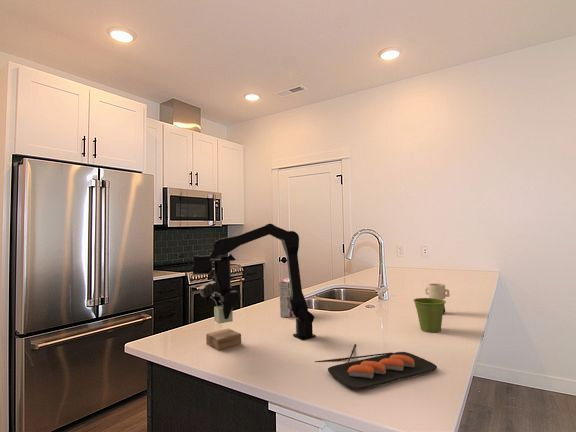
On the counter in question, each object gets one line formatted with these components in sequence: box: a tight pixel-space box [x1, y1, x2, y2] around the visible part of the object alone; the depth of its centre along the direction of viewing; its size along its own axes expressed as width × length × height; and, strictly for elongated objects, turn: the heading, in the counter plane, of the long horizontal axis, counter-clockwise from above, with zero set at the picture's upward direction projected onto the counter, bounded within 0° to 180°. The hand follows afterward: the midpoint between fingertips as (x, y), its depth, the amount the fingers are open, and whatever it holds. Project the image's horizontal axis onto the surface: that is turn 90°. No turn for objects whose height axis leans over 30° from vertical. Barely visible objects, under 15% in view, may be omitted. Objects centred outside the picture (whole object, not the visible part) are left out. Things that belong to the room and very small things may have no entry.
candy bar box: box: [278, 277, 294, 318], centre depth 160 cm, size 11×5×16 cm, turn 168°
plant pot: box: [412, 297, 447, 333], centre depth 130 cm, size 12×12×11 cm
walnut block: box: [205, 328, 242, 351], centre depth 120 cm, size 9×9×4 cm
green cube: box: [213, 305, 234, 324], centre depth 120 cm, size 5×5×5 cm
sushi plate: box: [314, 343, 438, 390], centre depth 100 cm, size 29×30×4 cm
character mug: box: [424, 283, 451, 313], centre depth 155 cm, size 11×7×13 cm, turn 46°
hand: (223, 317), depth 120 cm, fingers closed on green cube, 5 cm apart
